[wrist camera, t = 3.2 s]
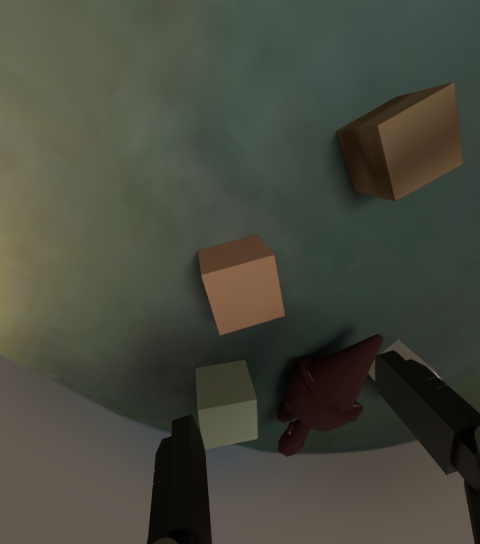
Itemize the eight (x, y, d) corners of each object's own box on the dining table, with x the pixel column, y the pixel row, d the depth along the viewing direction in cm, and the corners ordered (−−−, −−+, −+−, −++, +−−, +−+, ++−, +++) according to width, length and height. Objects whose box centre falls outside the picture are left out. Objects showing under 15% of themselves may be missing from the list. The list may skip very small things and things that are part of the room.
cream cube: (362, 366, 31) (392, 402, 27) (397, 338, 31) (434, 370, 26) (382, 386, 33) (413, 423, 29) (416, 361, 33) (453, 394, 28)
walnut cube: (335, 131, 21) (377, 125, 16) (395, 97, 21) (454, 82, 16) (353, 191, 23) (395, 201, 18) (407, 161, 23) (463, 163, 18)
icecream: (363, 335, 21) (249, 447, 25) (435, 385, 22) (312, 483, 26) (339, 297, 27) (251, 391, 32) (395, 336, 28) (302, 422, 33)
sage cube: (195, 367, 27) (197, 410, 23) (245, 359, 28) (256, 399, 23) (200, 403, 29) (203, 450, 25) (246, 395, 30) (257, 438, 25)
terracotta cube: (197, 250, 22) (201, 275, 18) (256, 234, 23) (274, 254, 18) (213, 301, 25) (219, 335, 20) (266, 286, 25) (285, 315, 20)
